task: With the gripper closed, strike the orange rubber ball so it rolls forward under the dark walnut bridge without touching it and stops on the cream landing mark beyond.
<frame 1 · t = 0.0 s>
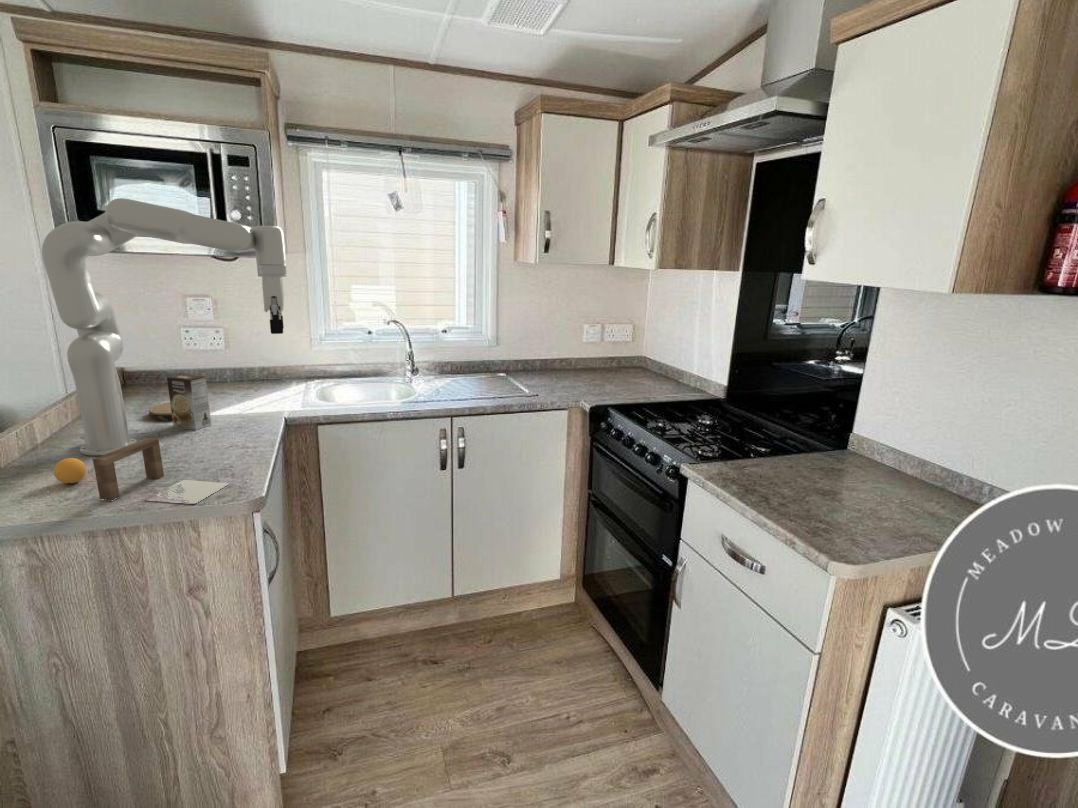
hand: (277, 331, 167), 31 cm above the worktop, tool pointing down, fingers open, 9 cm apart
bridge: (133, 487, 134), on the worktop
landing mark: (188, 492, 132), on the worktop
wood slice: (178, 416, 191), on the worktop
ball: (70, 470, 135), on the worktop
coffee box: (192, 426, 180), on the worktop
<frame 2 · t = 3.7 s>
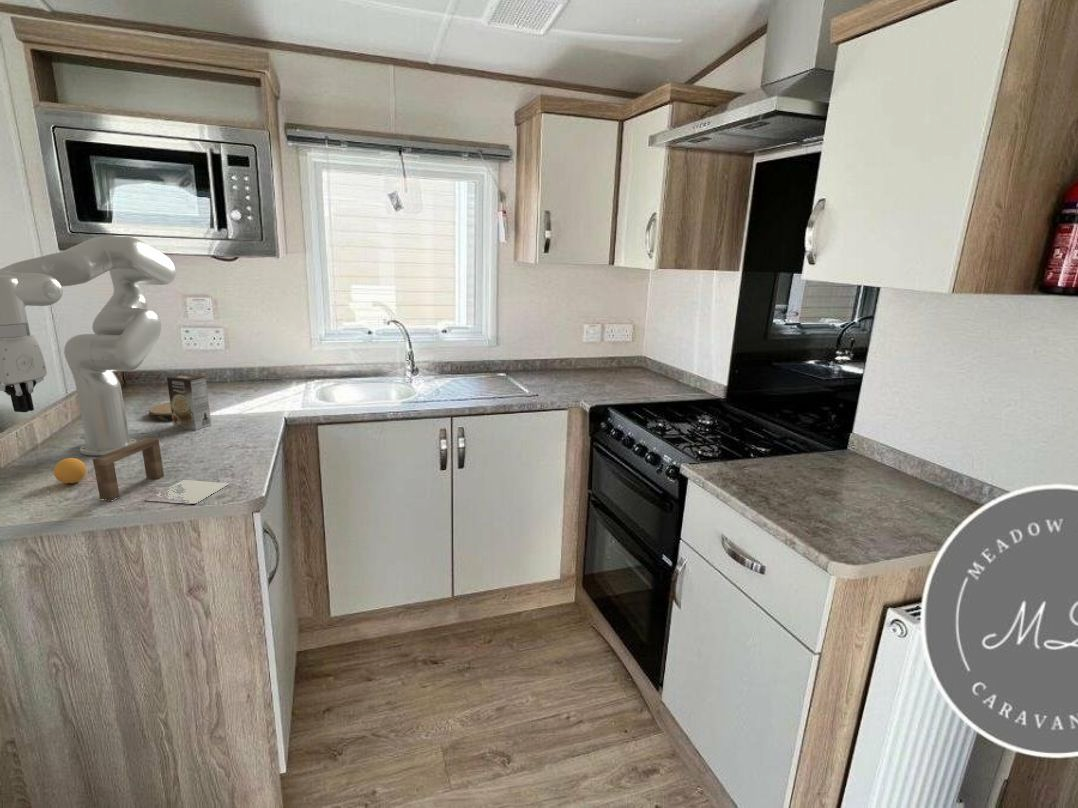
hand: (24, 410, 132), 17 cm above the worktop, tool pointing down, fingers closed
nothing on the worktop moved.
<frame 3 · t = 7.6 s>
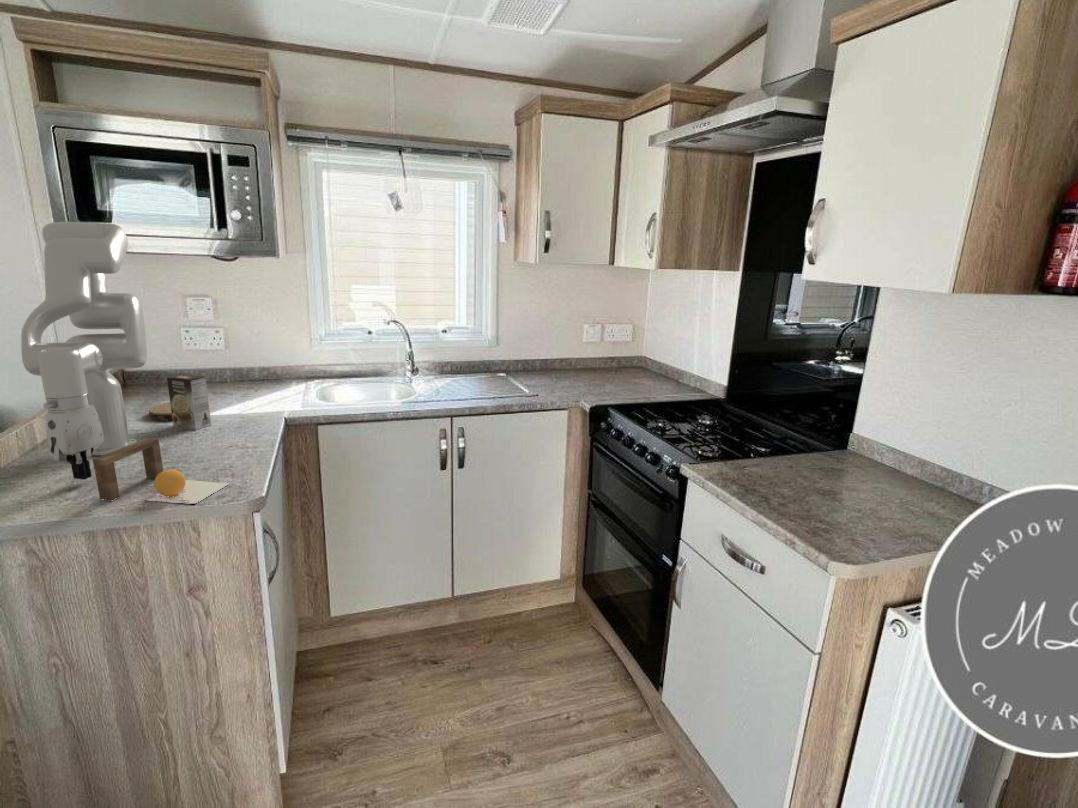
hand: (82, 477, 135), 2 cm above the worktop, tool pointing down, fingers closed
ball: (170, 482, 130), on the worktop
everything else where it was.
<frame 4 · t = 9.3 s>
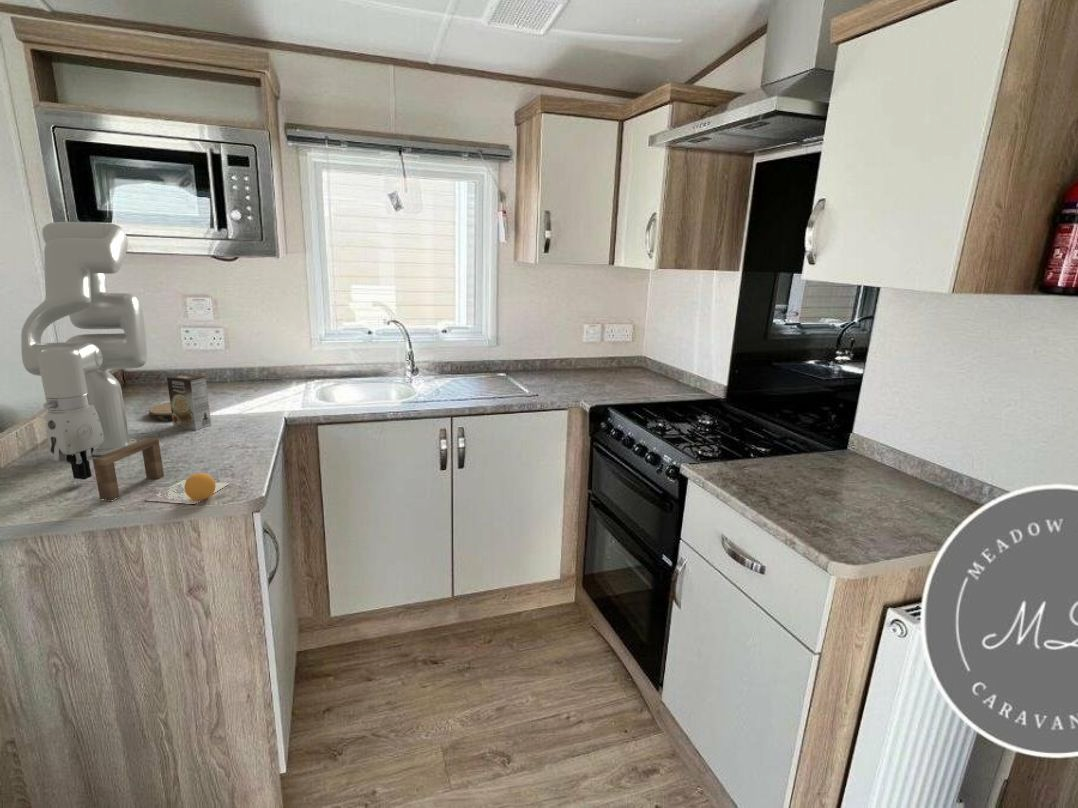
hand: (82, 477, 135), 2 cm above the worktop, tool pointing down, fingers closed
ball: (200, 486, 128), on the worktop
everything else where it was.
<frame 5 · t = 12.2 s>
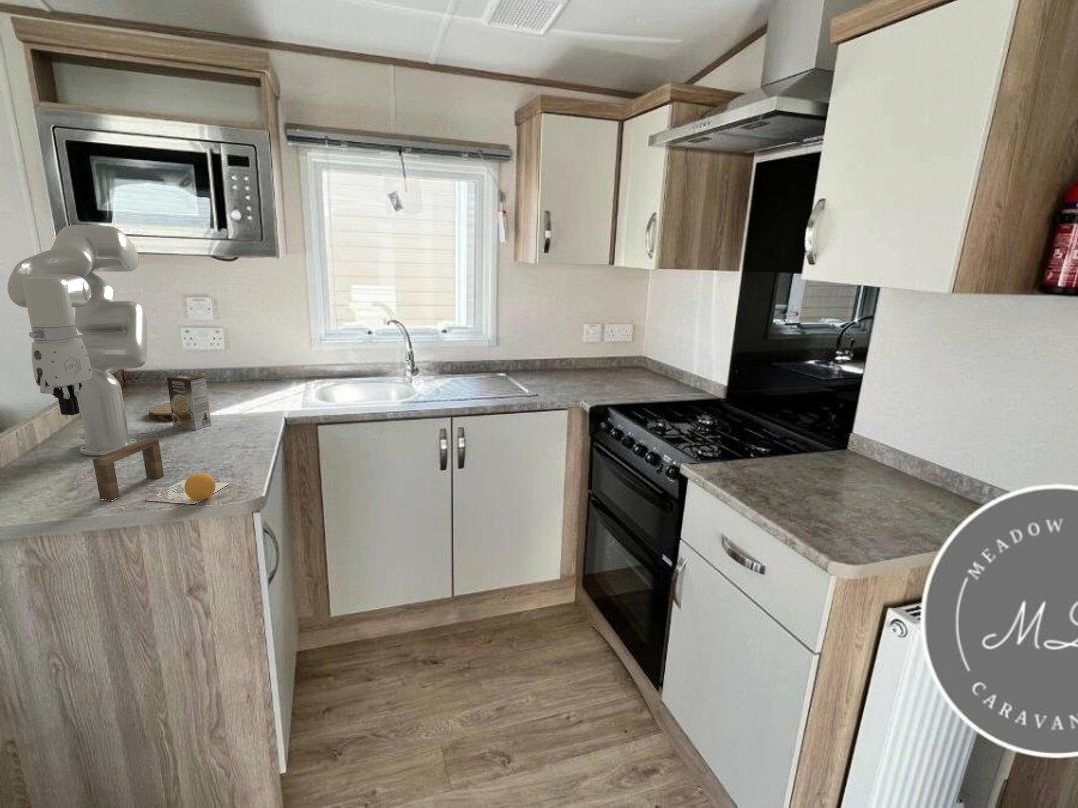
hand: (70, 413, 131), 17 cm above the worktop, tool pointing down, fingers closed
nothing on the worktop moved.
at the end: ball 5.9 cm from the landing mark (horizontally); ball never touched bridge; ball at rest at the end (0.0 cm/s) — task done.
